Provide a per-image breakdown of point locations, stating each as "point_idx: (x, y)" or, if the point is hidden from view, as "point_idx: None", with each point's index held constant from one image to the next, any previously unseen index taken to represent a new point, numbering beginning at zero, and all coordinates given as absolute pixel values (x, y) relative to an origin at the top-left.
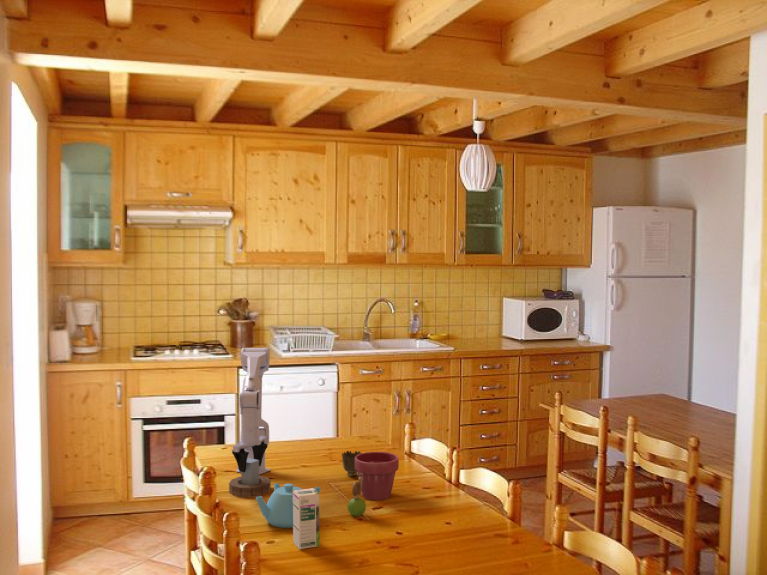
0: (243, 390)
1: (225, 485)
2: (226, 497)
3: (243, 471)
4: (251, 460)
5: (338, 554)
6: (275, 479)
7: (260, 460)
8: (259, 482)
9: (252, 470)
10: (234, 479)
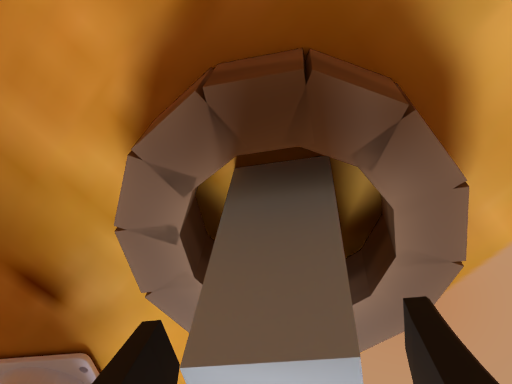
0: None
1: None
2: (506, 216)
3: (433, 308)
4: None
5: None
6: (16, 245)
7: (130, 369)
8: (189, 224)
9: (319, 275)
10: None
